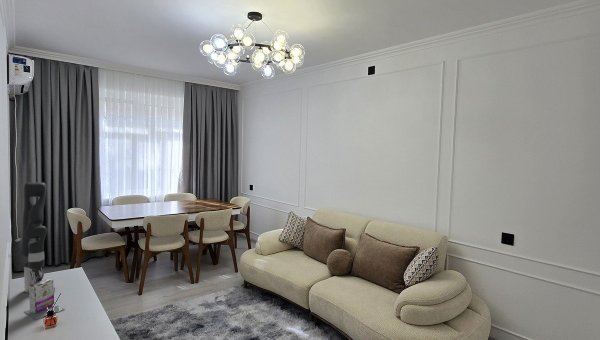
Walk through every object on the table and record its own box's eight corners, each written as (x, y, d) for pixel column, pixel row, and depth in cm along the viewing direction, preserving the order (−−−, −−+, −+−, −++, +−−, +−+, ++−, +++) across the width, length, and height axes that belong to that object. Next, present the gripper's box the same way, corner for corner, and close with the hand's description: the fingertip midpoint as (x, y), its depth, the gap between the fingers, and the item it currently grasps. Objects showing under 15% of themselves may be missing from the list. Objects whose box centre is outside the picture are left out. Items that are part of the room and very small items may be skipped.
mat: (24, 312, 192) (24, 311, 192) (51, 303, 204) (51, 302, 204) (36, 319, 184) (36, 319, 184) (64, 309, 196) (64, 309, 196)
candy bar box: (47, 304, 202) (47, 278, 201) (54, 305, 201) (53, 279, 200) (28, 312, 191) (28, 285, 190) (35, 313, 190) (35, 286, 189)
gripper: (24, 259, 197) (24, 287, 198) (33, 263, 191) (34, 292, 192) (38, 255, 204) (39, 283, 205) (48, 259, 197) (49, 287, 198)
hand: (37, 287), depth 198 cm, fingers closed
